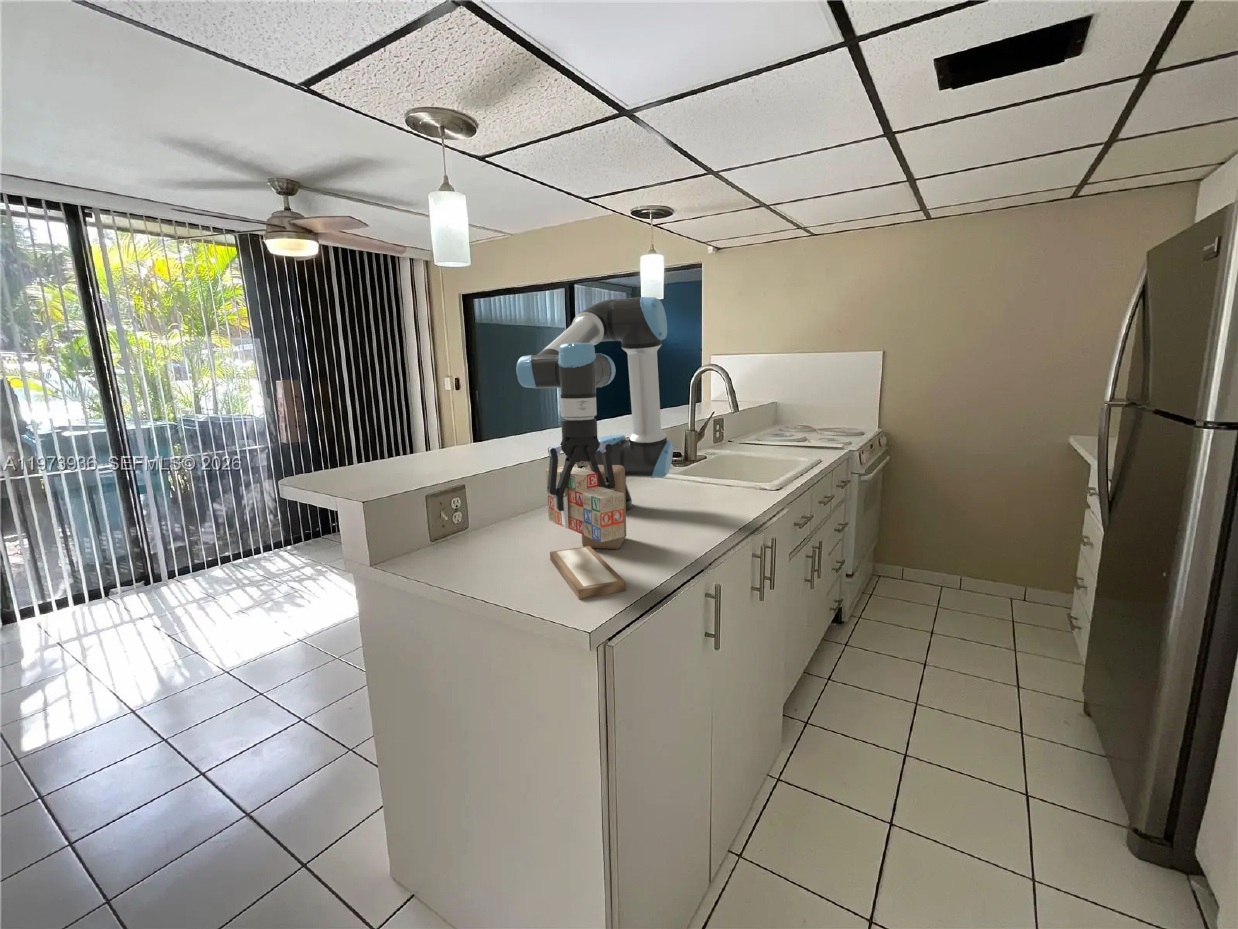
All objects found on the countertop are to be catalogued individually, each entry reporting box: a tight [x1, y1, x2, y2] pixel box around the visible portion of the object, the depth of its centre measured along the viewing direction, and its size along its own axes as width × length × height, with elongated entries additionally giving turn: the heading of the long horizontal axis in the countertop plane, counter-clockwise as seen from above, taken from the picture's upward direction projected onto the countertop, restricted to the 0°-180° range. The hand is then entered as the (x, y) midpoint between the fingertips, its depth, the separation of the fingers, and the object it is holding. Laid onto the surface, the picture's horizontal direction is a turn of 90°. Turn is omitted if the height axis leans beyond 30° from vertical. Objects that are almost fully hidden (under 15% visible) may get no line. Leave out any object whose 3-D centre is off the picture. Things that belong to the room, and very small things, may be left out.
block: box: [581, 465, 627, 550], centre depth 138 cm, size 10×10×20 cm
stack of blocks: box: [545, 465, 624, 542], centre depth 116 cm, size 21×6×12 cm, turn 37°
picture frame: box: [549, 546, 627, 600], centre depth 120 cm, size 10×24×2 cm, turn 21°
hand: (582, 522), depth 117 cm, fingers closed on stack of blocks, 7 cm apart
